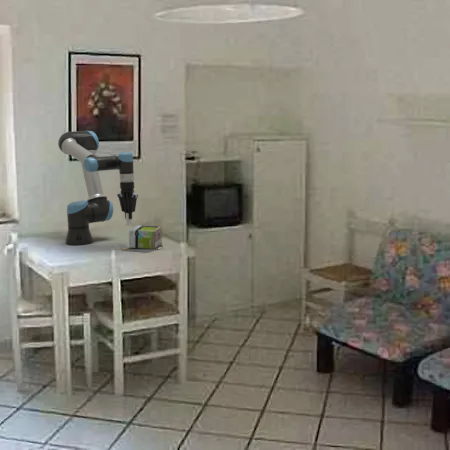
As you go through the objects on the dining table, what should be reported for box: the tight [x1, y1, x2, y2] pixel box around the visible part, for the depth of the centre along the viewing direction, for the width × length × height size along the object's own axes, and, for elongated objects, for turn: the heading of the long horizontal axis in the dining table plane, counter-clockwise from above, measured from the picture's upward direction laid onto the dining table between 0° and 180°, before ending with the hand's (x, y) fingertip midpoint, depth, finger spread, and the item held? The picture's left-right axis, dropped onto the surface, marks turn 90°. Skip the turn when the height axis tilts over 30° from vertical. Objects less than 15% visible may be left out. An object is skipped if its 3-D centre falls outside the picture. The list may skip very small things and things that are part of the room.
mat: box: [126, 246, 160, 254], centre depth 409 cm, size 14×16×1 cm
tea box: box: [128, 225, 163, 249], centre depth 413 cm, size 15×10×15 cm
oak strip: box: [121, 246, 132, 252], centre depth 413 cm, size 2×18×1 cm, turn 146°
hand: (129, 224), depth 413 cm, fingers closed
